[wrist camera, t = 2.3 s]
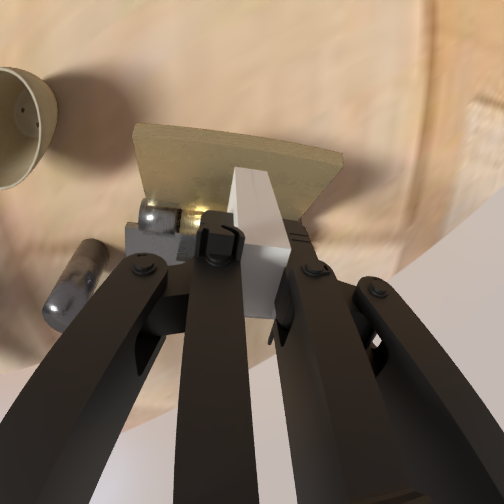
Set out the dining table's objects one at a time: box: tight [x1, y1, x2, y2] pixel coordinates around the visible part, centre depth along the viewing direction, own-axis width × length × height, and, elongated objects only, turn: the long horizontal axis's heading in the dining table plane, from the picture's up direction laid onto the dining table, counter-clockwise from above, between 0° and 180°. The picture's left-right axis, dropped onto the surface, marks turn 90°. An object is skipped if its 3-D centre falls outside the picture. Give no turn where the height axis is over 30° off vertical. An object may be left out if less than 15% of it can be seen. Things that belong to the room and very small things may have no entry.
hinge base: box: [125, 198, 302, 319], centre depth 32 cm, size 18×13×4 cm
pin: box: [42, 239, 109, 333], centre depth 28 cm, size 4×4×10 cm
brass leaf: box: [132, 123, 343, 236], centre depth 25 cm, size 13×13×3 cm
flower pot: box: [0, 67, 58, 190], centre depth 20 cm, size 10×10×7 cm
